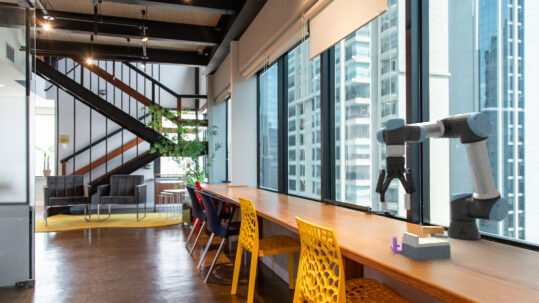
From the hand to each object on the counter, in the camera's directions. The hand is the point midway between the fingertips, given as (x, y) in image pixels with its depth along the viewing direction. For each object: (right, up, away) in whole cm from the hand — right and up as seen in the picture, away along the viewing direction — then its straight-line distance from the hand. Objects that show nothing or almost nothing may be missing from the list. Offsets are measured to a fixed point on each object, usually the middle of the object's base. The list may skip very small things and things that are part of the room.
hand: (395, 209), depth 144 cm
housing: (+16, -20, +7) cm, 26 cm away
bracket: (+6, -21, +14) cm, 26 cm away
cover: (+14, -15, +3) cm, 20 cm away
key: (+23, -19, +14) cm, 33 cm away
